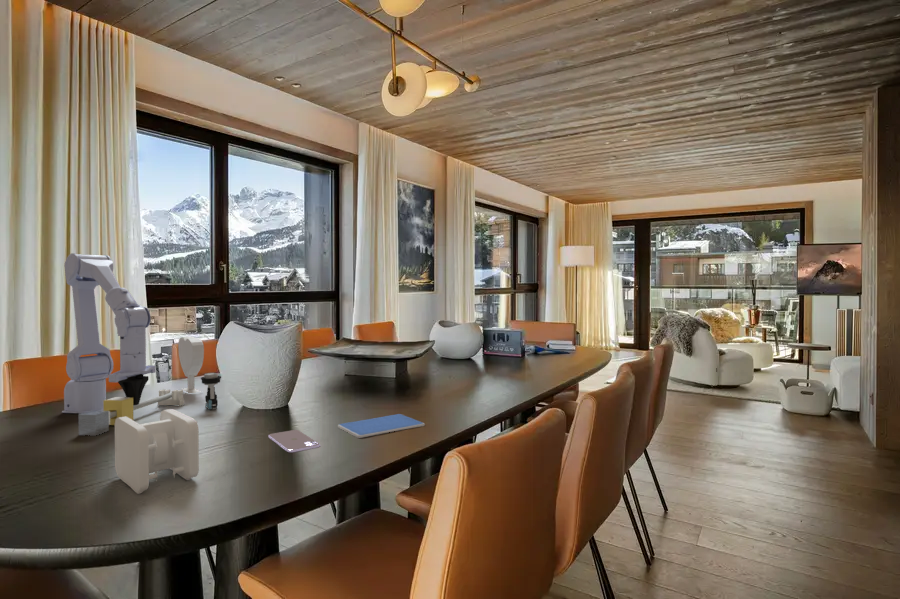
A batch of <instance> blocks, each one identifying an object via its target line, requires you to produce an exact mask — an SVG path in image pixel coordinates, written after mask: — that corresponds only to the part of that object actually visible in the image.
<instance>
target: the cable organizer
mask: <svg viewBox="0 0 900 599" xmlns="http://www.w3.org/2000/svg"><path fill="white" fill-rule="evenodd" d="M199 438H200V437H199V425H198V420H197V421H196V419H195V418H193V417H191V416H189V415H187V414H184V413H183V412H180V411H178V410H176V409H173V408H169V409H168V408H167V409H162V411H161V412H160V414H159V420H158V421H157V420H156V421H151V422H146V423H141V424H140V423H139V422H137V421H135V420H134V419H133V420H132V419H130V418H128V417H126V416H125V417H119V418H116V420H115V425H114V468H115V472H116V475H117V477H118V478H119V479H121V481H122V482H123V483H125V484H126V485H127V486H128V487H130V488H131V490H132V491H133V492H135V493H136V494H137V495H140V494H143V492H144V491H147V490H148V489H149V486H150V485H149V484H150V480H155V481H156V482H157V481H158V476H159V475H158V472H161V471H165V470H171V471H172V476H173V478H174V479H175V477H176V474H178V476H180V477H181V478H183V479H185V480H186V481H190V480H192V478H196V477H197V476H198V475H199V471H200V466H199V464H200V457H199V455H200V454H199V453H200V452H199V451H200V450H199V449H200V448H199V441H200V439H199Z"/></svg>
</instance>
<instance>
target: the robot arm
mask: <svg viewBox="0 0 900 599" xmlns="http://www.w3.org/2000/svg"><path fill="white" fill-rule="evenodd" d="M113 271H114V262H113V260H112V258H111V257H110V255H108V254H103V255H101V254H80V253H73V252H72V253H70V254H68V255H67V257H66V259H65V261H64V275H65V280H66V284H67V285H68V286H71V289H72V290H71V291H72V300H73V307H74V308H73V309H74V318H75V327H76V338H77V345H76V346H75V347H74V348H73V349H71V350H70V351H68V353H67V355H66V364H65V365H66V366H65V370H66V374H67V376H68V378H70V380H68V381H67V382H66V384H65V386H64V389H63V404H64V405H63V406H64V407H63V408H64V410H62V411H61V413H64V414H81V413H85V412H88V411H91V410H99V411H104V406H103V400H107V379H108V382H109V383H117V384H119V386H120V388H121V389H122V391H123V393H124V395H125V397H130V398H133V405H138V404H139V403H141V402H140V401H141V397H142V395H143V391H144V388H145V387H146V384H147V382H148V381H149V376H148V374H154V373H156V365H150V364H149V365H147V359H146V358H147V353H146V352H147V351H146V350H147V349H146V348H147V346H146V345H147V344H146V343H147V341H146V340H147V339H146V337H147V333H146V332H147V330H146V329H147V328H148V327H149V326H150V323H151V313H150V310H149V309H148V307H147V306H143V305H141V304H139V303H138V302H137V301H136V300H135V298H134V297H133V295H132V294H131V293H130V292H131V291H129V289H128V288H126V287H121V285H120V283H119V282H118V280H117V278H116V276H115V274H114V272H113ZM98 286H100V287H101V289H102V290H103V291H104V292H105V294H106V295H105V297H104V299H105V301H106V303H107V305H108V307H110V309H111V311H112V312H113V314H114V315H115V316H114V324H115V327H116V329H117V333H116V334H117V336H118V337H119V356H120V357H119V358H120V360H119V363H120V366H119V368H120V370H118V371H115V372H113V371H114V359H113V358H112V355H111V350H110V348H108V347H107V346H105V345H103V344H102V343H101V342H100V334H99V324H98V317H97V316H98V315H97V305H96V297H95V296H96V295H95V289H96V287H98ZM87 355H88V356H87ZM112 372H113V373H112Z"/></svg>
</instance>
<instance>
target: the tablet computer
mask: <svg viewBox="0 0 900 599" xmlns="http://www.w3.org/2000/svg"><path fill="white" fill-rule="evenodd" d="M425 425H426V424H425V423H424V422H422V421H420V420H417V419H414V418H413V417H409V416H407V415H405V414H401V413H397V414H391V415H385V416H380V417H374V418H368V419H362V420H357V421H356V420H355V421H349V422H343V423H339V424H337V428H338V429H340V430H341V429H342V430H341V431H343V430H344V432H346V433H347V432H348V433H347V434H349V435H351V436H354V437H355V438H356V439H364V438H367V437H368V438H369V437H373V436H379V435H384V434H388V433H389V432H390V433H393V432H394V431H395V432H399V431H404V430H411V429H416V428H422V427H425ZM395 432H394V433H395Z"/></svg>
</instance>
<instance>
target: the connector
mask: <svg viewBox="0 0 900 599" xmlns="http://www.w3.org/2000/svg"><path fill="white" fill-rule="evenodd" d="M77 414H78V415H77V416H78V436H85V435H88V437H90V436H91V437H97V436H99V434H100V435H103V434H105V433H107V431H108V432H109V431H110V425H109V424H110V411H104V410H103V411H99V410H91V411H88V412H85V413H77ZM104 432H105V433H104ZM102 433H103V434H102ZM89 435H90V436H89ZM96 435H97V436H96Z"/></svg>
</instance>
